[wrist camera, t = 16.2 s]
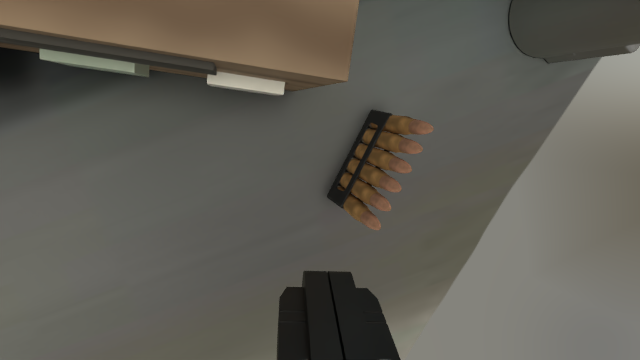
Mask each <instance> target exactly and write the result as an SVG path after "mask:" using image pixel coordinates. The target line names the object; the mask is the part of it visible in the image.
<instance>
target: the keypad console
mask: <svg viewBox="0 0 640 360" xmlns="http://www.w3.org/2000/svg"><path fill="white" fill-rule="evenodd" d="M358 5H359V0H0V47H3V48H9V49H16V50H23V51H29V52H36V53H40V49H46V50H53V51H59V52H66V53H72V54H79V55H85V56H92V57H98V58H105V59H112V60H118V61H125V62H131V63H138V64H144V65H149V70H156V71H162V72H169V73H176V74H182V75H189V76H196V77H202V78H207V74H210V75H217V72H224V73H230V74H236V75H243V76H249V77H256V78H262V79H268V80H275V81H281V82H285V86H284V90H289V91H297V90H302V89H308V88H313V87H319V86H324V85H330V84H336V83H341V82H347V81H348V75H349V68H350V61H351V54H352V47H353V40H354V33H355V26H356V19H357V12H358Z"/></svg>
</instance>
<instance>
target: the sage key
mask: <svg viewBox="0 0 640 360" xmlns="http://www.w3.org/2000/svg"><path fill="white" fill-rule="evenodd" d="M40 59H42V60H46V61H51V62H55V63H60V64H64V65H68V66H75V67H81V68H88V69H95V70H102V71H109V72H116V73H123V74H130V75H137V76H143V77H149V65H144V64H138V63H131V62H125V61H118V60H112V59H105V58H98V57H92V56H85V55H79V54H72V53H66V52H59V51H53V50H46V49H40Z"/></svg>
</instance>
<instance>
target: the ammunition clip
mask: <svg viewBox="0 0 640 360" xmlns="http://www.w3.org/2000/svg"><path fill="white" fill-rule="evenodd" d="M433 130H434V128H433V126H432V125H430V124H429V123H427V122H424V121H421V120H416V119H412V118H410V117H407V116H396V115H392V114H391V113H386V112H380V111H375V110H371V112H370V113H369V115H368V117H367V119H366V121H365V123H364V125H363V127H362V129H361V131H360V133H359V135H358V137H357V139H356V141H355V142H354V144H353V146H352V148H351V150H350V152H349V154H348V156H347V158H346V160H345V162H344V164H343V166H342V168H341V170H340V171H339V173H338V175H337V177H336V179H335V181H334V183H333V185H332V187H331V189H330V191H329V193H328V195H327V197H328V198H329V199H330V200H332V201H333V202H334V203H336V204H337V205H338V206H340V207H341V208H344V209H345V210H346V211H347V212H348V213H349V214H350V215H351V216H352V217H353V218H355V219H356V220H358V221H360V222H362V223H363V224H364V225H366V226H367V227H369V228H371V229H374V230H380V229H381V224H380V222H379V220H378V219H377V217H376V216H375V215H374V214H373V213H372V212H371V211H370V210H369V208H368V207H367V206H366V205H365V204H364V203H366V204H370V205H372V206H374V207H375V208H377V209H379V210H382V211H390V210H391V205H390V203H389V202H388V200H387V199H386V198H385V197H383V196H382V195H381V194H380V193H378V191H377V190H376V189H375V188H374V187H372V185H373V186H375V187H380V188H382V189H385V190H387V191H391V192H399V191H401V186H400V184H399V183H398V182H397V181H396V180H395V179H393V178H392V177H390V176H389V175H387V174H386V173H385V172H384V171H383V170H381V169H384V170H391V171H395V172H398V173H409V172H411V171H412V168H411V166H410V165H409V164H408V163H407V162H406V161H404V160H402V159H400V158H398V157H396V156H395V155H393V154H392V153H390V151H392V152H402V153H408V154H416V153H420V152H421V151H422V150H423V148H422V147H421V145H419V144H418V143H417V142H415V141H413V140H410V139H407V138H404V137H403V136H401V135H399V134H403V135H408V134H427V133H430V132H432V131H433ZM384 131H386V132H384ZM388 132H390V133H388ZM374 147H378V148H382V149H384V150H380V149H377V148H374ZM368 163H370V164H372V165H374V166H376V167H374V166H372V165H370V164H368ZM359 178H361V179H362V180H364V181H366V182H367V183H366V182H364V181H362V180H361V179H359ZM351 193H352V194H353V195H352V194H351ZM354 195H355V196H356V197H358V198H356V197H355V196H354ZM363 202H364V203H363Z"/></svg>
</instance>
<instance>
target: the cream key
mask: <svg viewBox="0 0 640 360" xmlns="http://www.w3.org/2000/svg"><path fill="white" fill-rule="evenodd" d="M207 84H208V85H210V86H213V87H220V88H227V89H233V90H240V91H247V92H254V93H261V94H268V95H275V96H278V95H284V86H285V82H281V81H275V80H268V79H262V78H256V77H249V76H243V75H236V74H230V73H224V72H217V75H210V74H207Z"/></svg>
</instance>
